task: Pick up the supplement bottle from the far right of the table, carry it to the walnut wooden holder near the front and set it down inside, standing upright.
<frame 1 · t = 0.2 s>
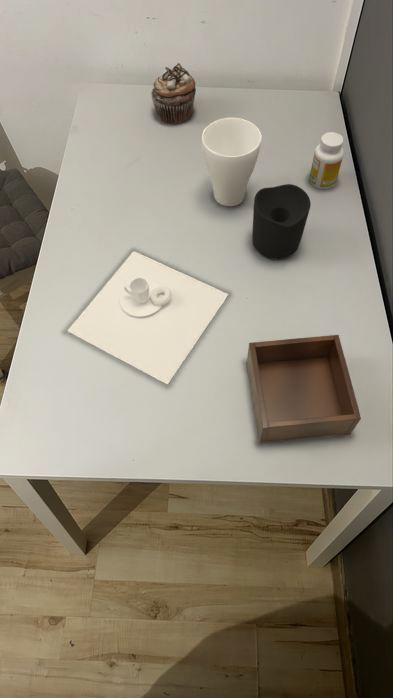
supplement bottle: (322, 181, 100), on the table
teacup and saucer: (149, 313, 86), on the table
pen holder: (275, 243, 92), on the table
cupcake: (174, 113, 112), on the table
cup: (229, 196, 99), on the table
holder: (296, 396, 77), on the table
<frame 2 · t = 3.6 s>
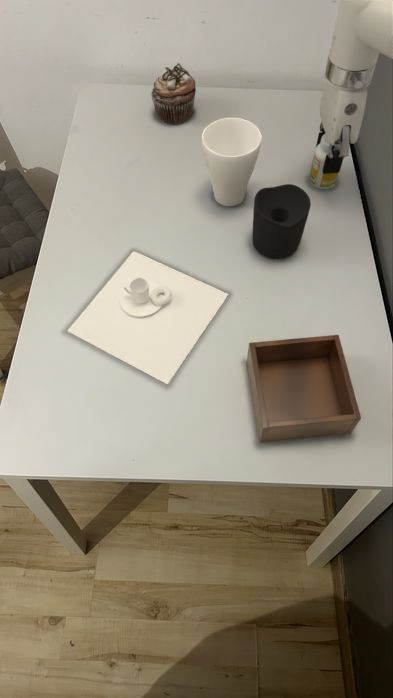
hand: (327, 160, 96), 5 cm above the table, tool pointing down, fingers closed on supplement bottle, 5 cm apart
supplement bottle: (322, 181, 100), on the table, touching gripper
everything else where it was.
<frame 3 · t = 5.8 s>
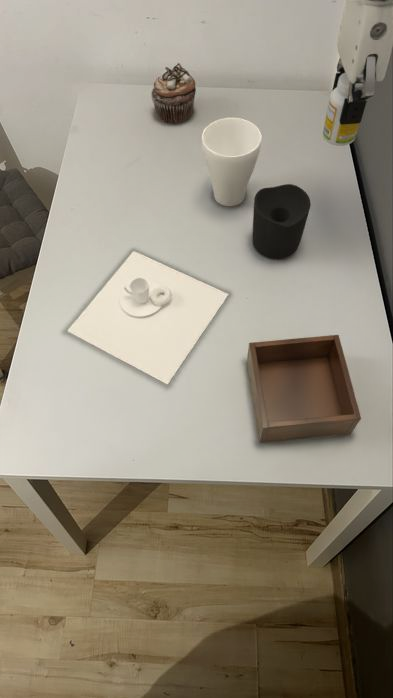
hand: (345, 109, 78), 21 cm above the table, tool pointing down, fingers closed on supplement bottle, 5 cm apart
supplement bottle: (338, 137, 82), point 16 cm above the table, touching gripper
everything else where it was.
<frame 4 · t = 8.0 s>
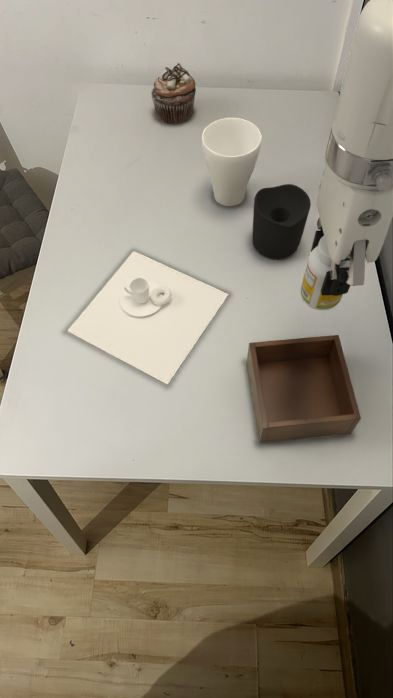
hand: (328, 271, 62), 22 cm above the table, tool pointing down, fingers closed on supplement bottle, 5 cm apart
supplement bottle: (320, 295, 66), point 17 cm above the table, touching gripper
everything else where it was.
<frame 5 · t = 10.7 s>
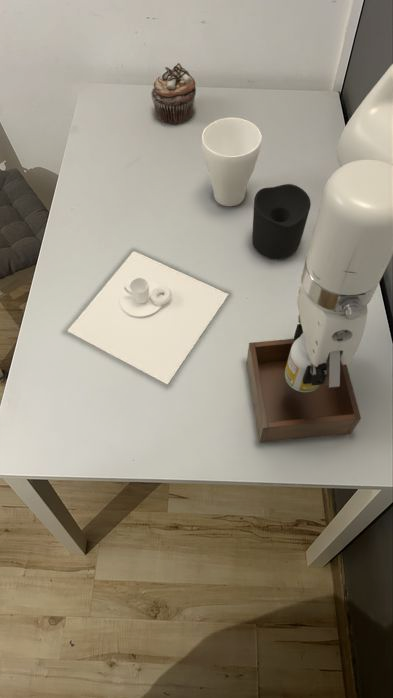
hand: (309, 359, 67), 12 cm above the table, tool pointing down, fingers closed on supplement bottle, 5 cm apart
supplement bottle: (303, 376, 71), point 7 cm above the table, touching gripper
everything else where it was.
when the fingers open (5 cm above the table, at t = 12.7 s): supplement bottle stays where it is, resting on holder.
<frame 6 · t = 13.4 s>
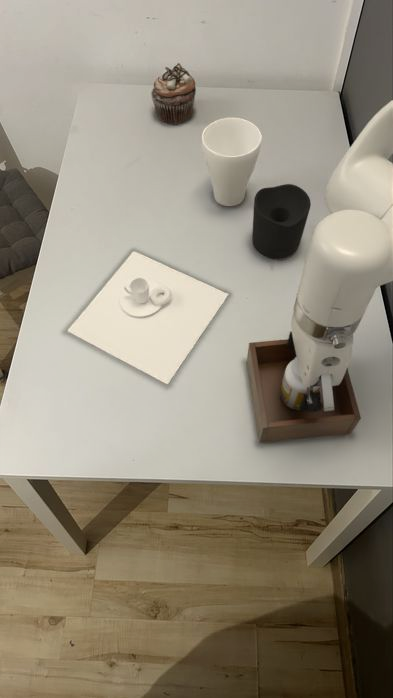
hand: (304, 375, 71), 7 cm above the table, tool pointing down, fingers open, 9 cm apart
supplement bottle: (296, 395, 77), resting on holder
everything else where it was.
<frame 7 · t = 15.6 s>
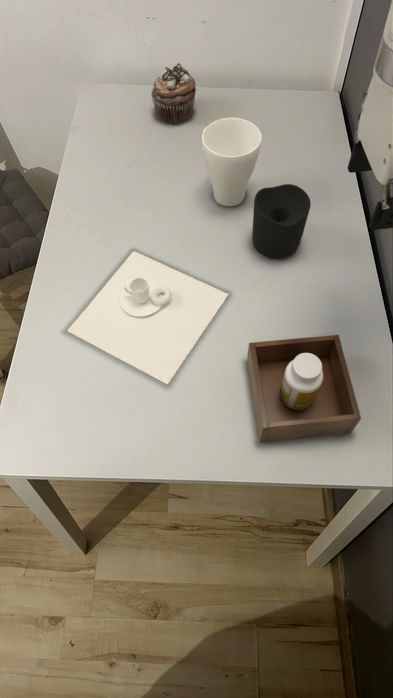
hand: (370, 197, 61), 26 cm above the table, tool pointing down, fingers open, 9 cm apart
nothing on the table moved.
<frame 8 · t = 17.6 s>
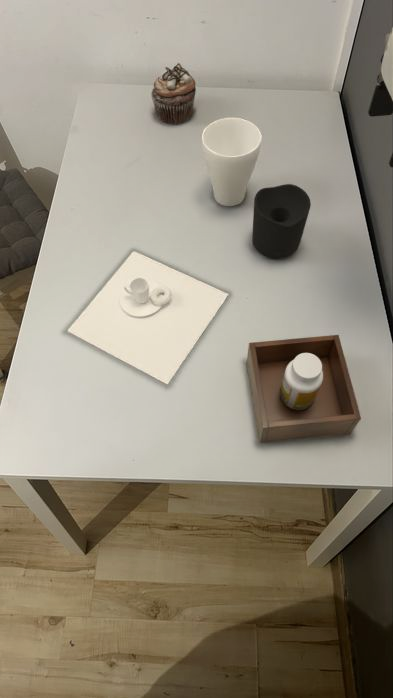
hand: (390, 138, 63), 28 cm above the table, tool pointing down, fingers open, 9 cm apart
nothing on the table moved.
at the end: supplement bottle inside the target area in the holder (0.1 cm from its centre), point 0.4 cm above the holder's base; supplement bottle tilted 0°; the gripper is holding nothing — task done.
